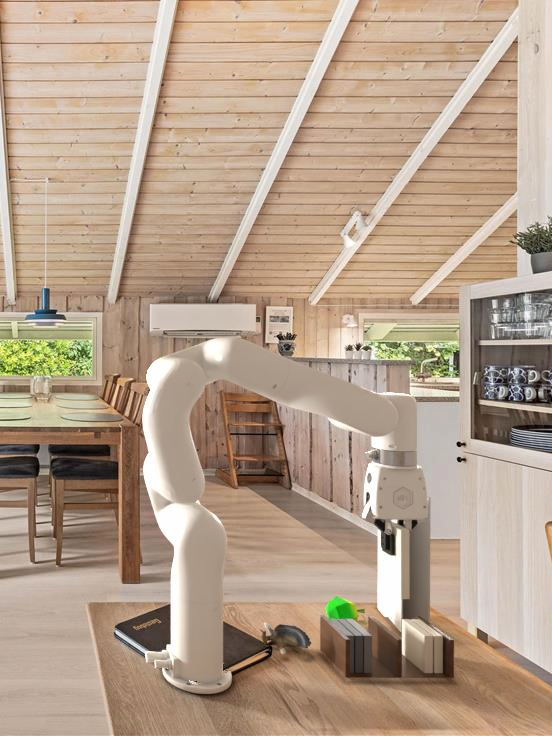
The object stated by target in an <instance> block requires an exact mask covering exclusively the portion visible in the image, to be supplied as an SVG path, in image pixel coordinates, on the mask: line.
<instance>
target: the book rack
mask: <svg viewBox="0 0 552 736" xmlns="http://www.w3.org/2000/svg"><path fill="white" fill-rule="evenodd" d="M416 619H420V620H421V621H423V622H424V623H425V624H427V625H428V626H430V627H431V628H432V629H434V630H435V631H437V632H438V633H439V634H441V635H442V636H443V673H434V672H433V673H424V672H422V671H421V670H420V669H419V668H418V667H417V666H415V665H414V664H413V663H412V662H411V661H409V660H408V659H407V658H406V657H405V656H404V655H402V638H400V637H399V636H398V635H397V634H395V633H394V632H393V630H390V629H389V628H388V627H387V626H386V625H384V624H383V623H382V622H380V621H379V620H378V619H377V618H376V617H374V616H373V615H368V616H367V632H368V633H370V634H371V635H372V673H364V672H363V673H355V672H354V673H350V639H349V638H348V637H347V636H346V635H344V634H343V633H342V632H341V631H340V630H339V629H338V628H337V627H336V626H335V625H334V624H333V623H332V622H331V621H330V620H328V617H326V615H324V614H323V615H320V616H319V651H320V652H321V653H322V654H323V656H324V657H326V658H327V660H328V661H329V662H330V663H332V665H333V666H334V667H335V668H336V669H337V671H339V672H340V673H341V674H342V675H343V677H344V678H346V679H347V678H349V679H351V678H352V679H353V678H354V679H356V678H357V679H362V678H363V679H373V678H374V679H454V678H455V640H454V639H453V638H452V637H451V636H449V635H448V634H446V633H445V632H443V631H442V630H441V629H440V628H438V627H437V626H436V625H434V624H432V623H431V622H430V623H429V622H428V621H426V620H425V619H424V618H422V617H421V616H416Z"/></svg>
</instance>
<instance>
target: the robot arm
mask: <svg viewBox="0 0 552 736" xmlns="http://www.w3.org/2000/svg"><path fill="white" fill-rule="evenodd" d="M220 380H221V381H226V382H229V383H232V384H234V385H236V386H239V387H240V388H243V389H245V390H248V391H250V392H252V393H255V394H257V395H259V396H261V397H264V398H266V399H268V400H271V401H273V402H276V403H277V404H280V405H282V406H285V407H289V408H291V409H294V410H297V411H302V412H307V413H311V414H315V415H318V416H321V417H323V418H327V420H328V421H329V422H330V423H331V424H332V425H333V426H335V427H336V428H338V429H340V430H343V431H347V432H351V433H356V434H360V435H363V436H367V437H371V447H370V451H366V452H365V458H366V459H367V460H370V461H371V462H369V463H368V466H367V470H366V472H365V473H366V474H365V479H364V489H363V508H364V509H363V512H362V515H361V519H362V520H363V521H365V522H366V523H370V524H372V525H374V526H375V527H376V528H377V530H378V529H379V530H380V531H381V548H382V550H383V551H384V552H385V553H387V554H389V555H390V556H394V555H395V536H394V535H393V534H392V520H397V524H399V525H401V526H403V527H405V528H407V529H408V530H409V535H410V534H411V530H412V529H413V528H414V527H415V526H416V525H417V524H420V523H423V522H425V521H427V514H428V502H427V496H428V492H427V484H426V479H425V475H424V471H423V468H422V466H421V465H418V402H417V400H416V397H414V396H412V395H411V394H405V393H395V392H386V393H385V392H383V393H377V392H374V391H372V390H370V389H367V388H364V387H363V386H360V385H358V384H355V383H352V382H351V381H347V380H344V379H341V378H340V377H336V376H333V375H331V374H328V373H326V372H324V371H321V370H319V369H316V368H314V367H311V366H308V365H305V364H302V363H300V362H298V361H295V360H293V359H290V358H288V357H286V356H284V355H281V354H279V353H277V352H274V351H273V350H270V349H268V348H267V347H266V348H265V347H263V346H260V345H259V344H256V343H254V342H251V341H250V340H247V339H244V338H240V337H215V338H212V339H208V340H206V341H203V342H201V343H197V344H195V345H193V346H189V347H187V348H184V349H181V350H178V351H176V352H175V351H174V352H171V353H170V354H167V355H164V356H161V357H159V358H158V359H156V360H155V361H153V362H152V363H151V365H150V366H149V368H148V370H147V374H146V382H147V385H148V388H149V390H150V391H149V393H148V395H147V397H146V400H145V403H144V406H143V411H142V417H141V418H142V419H141V420H142V430H143V434H144V435H143V436H144V438H145V442H146V446H147V452H148V454H147V455H146V457H145V459H144V461H143V468H142V470H143V471H142V472H143V479H144V483H145V486H146V490H147V493H148V496H149V500H150V503H151V507H152V510H153V512H154V516H155V519H156V523H157V524H158V528H159V529H160V531H161V533H162V534H163V536H164V537H165V538H166V539H167V540H168V541H169V542H170V543H171V545H172V546H173V550H174V551H173V552H174V553H173V558H172V559H173V560H172V564H171V570H170V643H169V644H166V649H162V650H161V651H153V650H152V651H151V650H150V651H145V653H144V655H145V662H146V663H147V664H154V668H155V669H162V670H161V671H162V676H163V677H164V679H166V681H167V682H168V683H170V684H171V685H172V686H174V687H176V688H178V689H180V690H182V691H185V692H188V693H193V694H200V695H213V694H218V693H222V692H224V691H227V689H229V688H230V687H231V685H232V681H233V677H232V676H233V674H232V672H231V670H230V671H228V670H224V671H228V672H227V673H224V674H223V664H224V575H225V574H224V573H225V565H226V558H227V552H228V535H227V534H228V533H227V531H226V528H225V526H224V524H223V523H222V521H221V520H220V519H219V517H217V516H216V514H214V513H213V512H212V511H211V510H209V509H208V508H206V507H205V506H204V505H202V504H201V502H200V499H201V497H202V496H203V494H204V492H205V488H206V478H205V474H204V470H203V468H202V464H201V461H200V458H199V454H198V452H197V449H196V445H195V442H194V440H193V439H194V438H193V435H192V431H191V425H190V416H191V412H192V410H193V408H194V406H195V404H196V403H197V401H198V400H199V399H200V398H201V396H202V395H203V393H204V391H205V388H206V386H207V385H210V384H212V383H215V382H217V381H220ZM167 668H168V670H167ZM189 680H190V681H192V680H193V681H197V682H201V683H202V684H199V685H194V684H192V683H190V682H189Z"/></svg>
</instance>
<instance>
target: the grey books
mask: <svg viewBox="0 0 552 736" xmlns="http://www.w3.org/2000/svg"><path fill="white" fill-rule="evenodd" d="M327 619H328V618H327ZM328 620H330V621H331V622H332V623H333V624H334V625H335V626H336V627H337V628H338V629H339V630H340V631H341V632H342V633H343V634H344V635H346V636H347V637H348V638H349V639H350V673H354V672H355V673H363V672H364V673H372V635H371V634H370V633H368V630H366V629H365V628H364V627H363V626H361V624H359V623H358V622H357V621H355V620H353V619H337V620H336V619H328Z"/></svg>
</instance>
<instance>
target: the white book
mask: <svg viewBox="0 0 552 736" xmlns="http://www.w3.org/2000/svg"><path fill="white" fill-rule="evenodd" d="M392 534H393V535H394V536H395V555H394V556H390V555H389V554H387V553H385V552H384V551H383V550H382V548H381V531H380V585H382V586H383V587H385V588H386V589H388V590H389V591H390V592H392V593H393V594H395V595H396V596H397V597H399V598H400V599H409V530H408V529H407V528H405V527H403V526H401V525H399V524H397V523H395V522H393V521H392Z"/></svg>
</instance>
